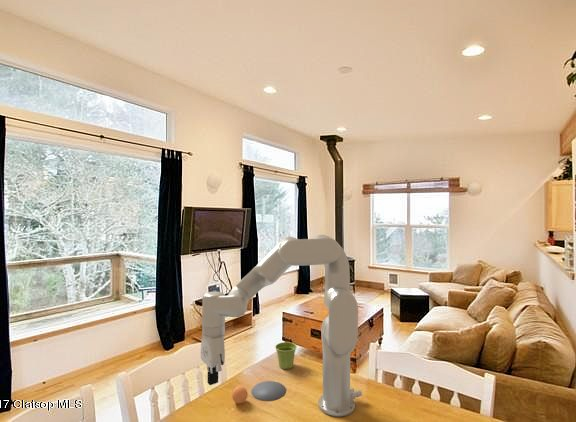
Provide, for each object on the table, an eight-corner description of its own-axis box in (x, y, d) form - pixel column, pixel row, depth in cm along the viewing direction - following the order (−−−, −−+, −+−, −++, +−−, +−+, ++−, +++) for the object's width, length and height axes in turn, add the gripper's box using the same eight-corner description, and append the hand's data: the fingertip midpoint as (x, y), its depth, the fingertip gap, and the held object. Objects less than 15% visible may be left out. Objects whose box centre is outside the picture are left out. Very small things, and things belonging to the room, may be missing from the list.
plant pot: (270, 367, 145) (270, 347, 145) (283, 359, 153) (283, 340, 152) (288, 373, 139) (288, 352, 139) (300, 364, 147) (300, 345, 147)
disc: (277, 378, 135) (277, 378, 135) (291, 395, 123) (291, 394, 123) (246, 386, 130) (246, 385, 130) (258, 404, 118) (258, 403, 118)
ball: (244, 396, 123) (244, 381, 123) (249, 404, 118) (249, 389, 118) (230, 400, 121) (230, 385, 121) (234, 408, 116) (234, 392, 116)
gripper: (194, 324, 117) (194, 376, 117) (212, 339, 105) (211, 396, 105) (214, 320, 121) (214, 370, 122) (233, 333, 109) (232, 389, 110)
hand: (212, 382), depth 113 cm, fingers closed
